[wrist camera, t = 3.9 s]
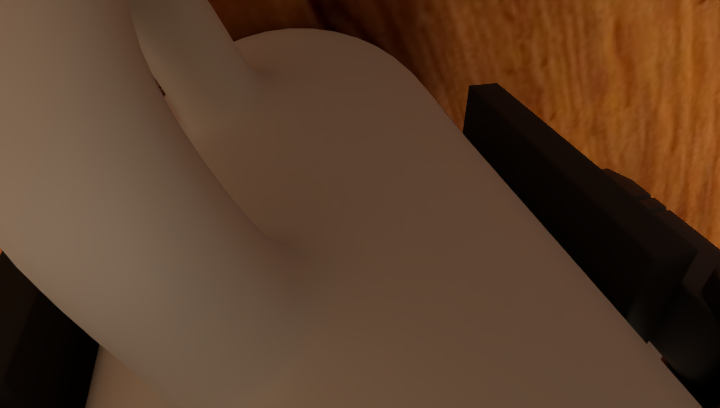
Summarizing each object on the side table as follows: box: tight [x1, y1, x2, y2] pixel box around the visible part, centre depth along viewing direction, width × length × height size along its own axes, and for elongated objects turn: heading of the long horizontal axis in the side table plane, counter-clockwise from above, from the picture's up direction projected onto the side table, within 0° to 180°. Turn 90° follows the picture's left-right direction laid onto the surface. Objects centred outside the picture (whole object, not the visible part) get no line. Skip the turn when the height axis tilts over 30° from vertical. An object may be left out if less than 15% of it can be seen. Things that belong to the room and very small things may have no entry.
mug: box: [0, 0, 702, 408], centre depth 9 cm, size 12×8×11 cm
